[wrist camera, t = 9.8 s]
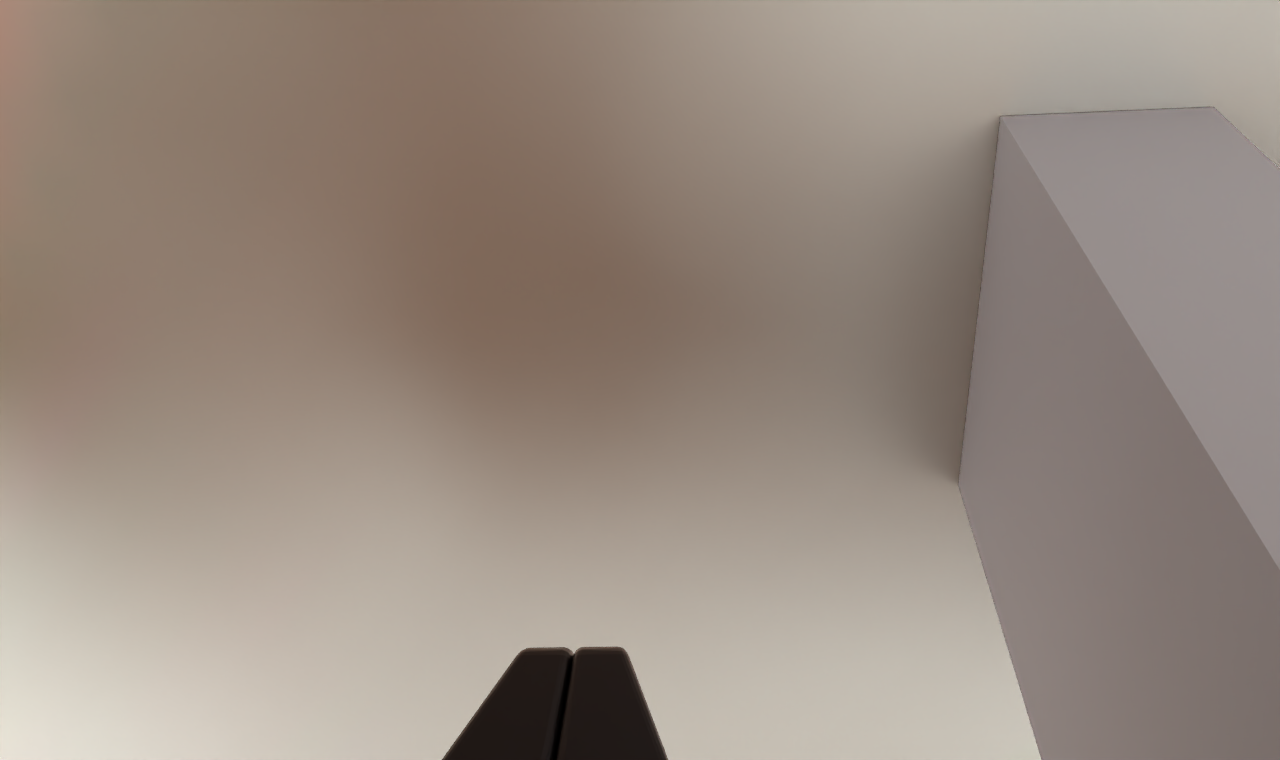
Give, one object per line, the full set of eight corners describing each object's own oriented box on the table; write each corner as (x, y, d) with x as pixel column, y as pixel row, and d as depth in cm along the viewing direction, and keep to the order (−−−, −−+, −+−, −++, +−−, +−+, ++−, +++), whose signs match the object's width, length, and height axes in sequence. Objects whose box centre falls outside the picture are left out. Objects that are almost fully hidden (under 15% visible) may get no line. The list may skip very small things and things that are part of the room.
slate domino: (1130, 480, 15) (1527, 1264, 8) (957, 485, 15) (1193, 1257, 8) (1213, 107, 12) (1944, 791, 5) (1000, 116, 12) (1415, 793, 5)
